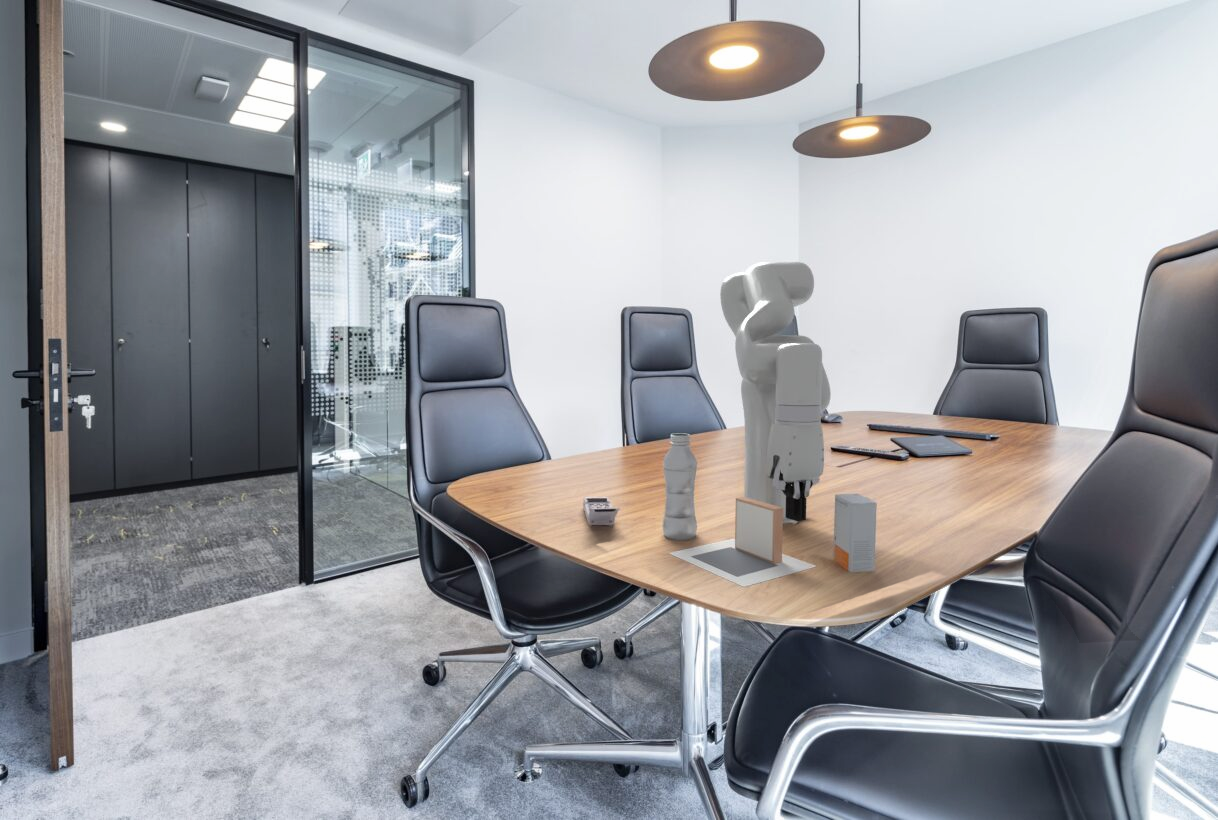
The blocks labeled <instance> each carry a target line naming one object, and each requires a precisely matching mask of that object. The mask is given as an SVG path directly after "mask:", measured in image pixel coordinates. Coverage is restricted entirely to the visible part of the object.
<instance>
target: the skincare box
mask: <svg viewBox="0 0 1218 820" xmlns="http://www.w3.org/2000/svg"><path fill="white" fill-rule="evenodd" d="M877 505H878V504H877V502H876V501H875V500H872V499H870V498H869V497H866V496H863V495H861V494H859V493H837V494H834V517H833V519H834V520H833V521H834V523H833V524H834V525H833V550H832V551H833V555H832V558H833V561H835V562H836V563H837V564H839V565H840V566H841V567H843V569H844V570H846V571H848V572H849V573H854V572H855V573H857V572H875V566H876V565H875V564H876V563H875V561H876V559H875V557H876V537H877V536H876V533H877V532H876V531H877V530H876V529H877Z"/></svg>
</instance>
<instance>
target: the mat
mask: <svg viewBox="0 0 1218 820" xmlns="http://www.w3.org/2000/svg"><path fill="white" fill-rule="evenodd" d="M668 554H669V555H672V557H673V556H674V557H676V558H678V559H681V561H682V560H683V561H685V562H687V563H689V564H691V565H693V566H696V567H698V568H700V569H702V570H705V571H707V572H709V573H712V574H714V575H715V576H719V577H721V578H722V579H725V580H726V581H730V582H731V583H734V584H735V585H737V586H741V587H743V588H747V587H750V586H752V585H756V584H760V583H763V582H768V581H770V580H775V579H777V578H781V577H785V576H787V575H788V576H789V575H791V574H796V573H799V572H802V571H803V572H804V571H805V570H809V569H813V568H816V567H818V565H816V564H815V565H814V564H811V563H809V562H806V561H804V560H800V559H798V558H796V557H793V556H790V555H787V554H784V553H782V562H779V563H775V564H774V563H771V562H768V561H766V560H763V559H761V558H758V557H755V556H753V555H750V554H748V553H745V552H742V551H740V550H737V549H735V537H734V538H730V539H725V540H720V541H717V542H712V543H708V544H703V545H698V546H694V547H689V548H686V549H681V550H676V551H672V552H668Z"/></svg>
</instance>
